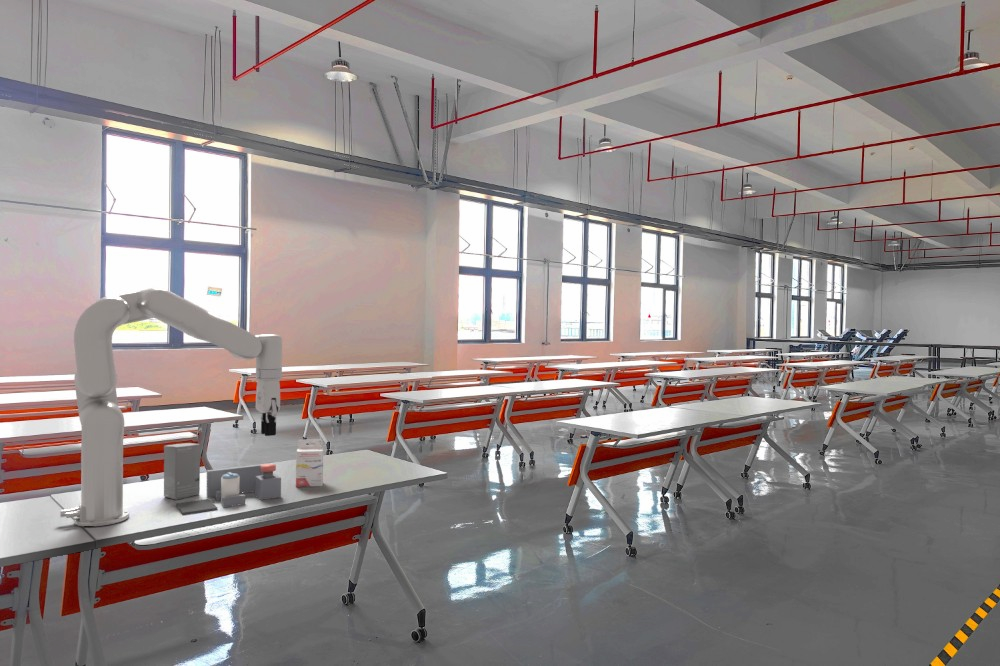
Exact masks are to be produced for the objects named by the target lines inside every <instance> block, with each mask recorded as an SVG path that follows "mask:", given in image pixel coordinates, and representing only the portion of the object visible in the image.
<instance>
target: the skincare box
mask: <svg viewBox="0 0 1000 666" xmlns="http://www.w3.org/2000/svg"><path fill="white" fill-rule="evenodd" d="M163 451H164V453H163V454H164V455H163V497H165V498H169V499H172V500H175V501H177V500H181V499H182V500H183V499H186V498H190V497H193V496H197V495H198V496H199V495H200V494H201V492H200V487H201V486H200V483H201V482H200V481H201V480H200V479H201V478H200V476H201V475H200V473H201V472H200V471H201V468H200V467H201V462H200V461H201V444H200V443H192V442H185V443H183V442H182V443H176V444H175V443H173V444H166V445H164V446H163Z"/></svg>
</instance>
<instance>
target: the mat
mask: <svg viewBox="0 0 1000 666" xmlns="http://www.w3.org/2000/svg"><path fill="white" fill-rule="evenodd" d="M175 507H176V508H177V510H178V511H179V512H180V513H181V514H182V515H183V516H184V515H190V514H191V513H192V514H198V512H199V513H204V512H210V511H218V506H217V505H215V504H214V502H213V501H211V500H210V498H207V499H206V498H205V499H197V500H191V501H184V502H176V503H175Z"/></svg>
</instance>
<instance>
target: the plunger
mask: <svg viewBox="0 0 1000 666" xmlns="http://www.w3.org/2000/svg"><path fill="white" fill-rule="evenodd" d="M263 464H264V465H261V472H263V479H267V478H273V474H274V471H277V465H276V464H274V463H271V464H267V463H263Z"/></svg>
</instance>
